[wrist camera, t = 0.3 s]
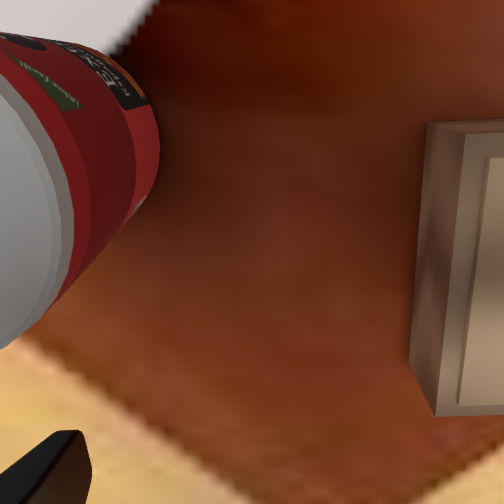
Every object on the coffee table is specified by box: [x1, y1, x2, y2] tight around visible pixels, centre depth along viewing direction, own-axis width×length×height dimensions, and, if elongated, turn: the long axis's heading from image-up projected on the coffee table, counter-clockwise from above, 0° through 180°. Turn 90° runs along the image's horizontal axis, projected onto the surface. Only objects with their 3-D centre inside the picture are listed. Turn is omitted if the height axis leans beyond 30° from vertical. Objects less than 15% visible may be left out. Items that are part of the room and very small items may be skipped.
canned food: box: [0, 32, 160, 349], centre depth 15 cm, size 8×8×11 cm
